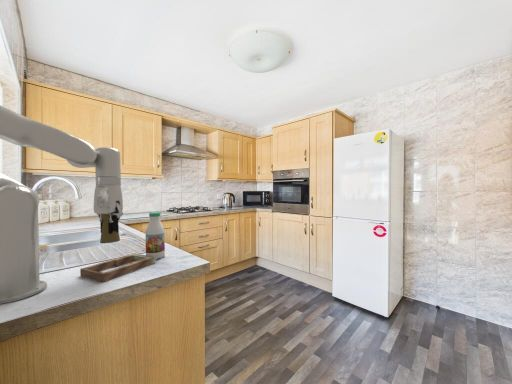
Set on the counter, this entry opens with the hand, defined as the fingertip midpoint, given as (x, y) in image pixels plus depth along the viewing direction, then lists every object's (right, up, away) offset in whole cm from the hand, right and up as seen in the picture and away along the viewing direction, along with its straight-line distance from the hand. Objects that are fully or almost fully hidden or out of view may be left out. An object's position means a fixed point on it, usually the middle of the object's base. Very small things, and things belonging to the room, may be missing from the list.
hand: (109, 232), depth 77 cm
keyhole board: (+2, -15, +4) cm, 15 cm away
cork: (0, -3, 0) cm, 3 cm away
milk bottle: (+8, -15, +18) cm, 25 cm away
